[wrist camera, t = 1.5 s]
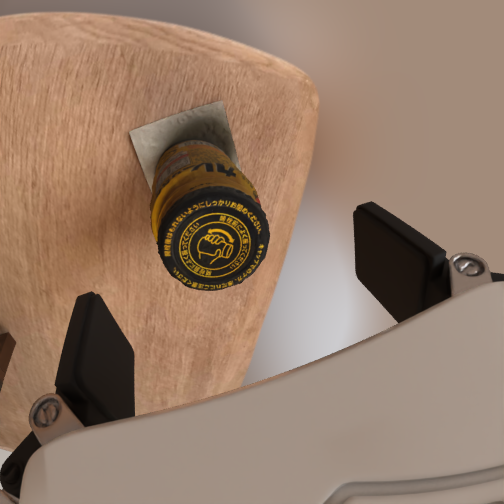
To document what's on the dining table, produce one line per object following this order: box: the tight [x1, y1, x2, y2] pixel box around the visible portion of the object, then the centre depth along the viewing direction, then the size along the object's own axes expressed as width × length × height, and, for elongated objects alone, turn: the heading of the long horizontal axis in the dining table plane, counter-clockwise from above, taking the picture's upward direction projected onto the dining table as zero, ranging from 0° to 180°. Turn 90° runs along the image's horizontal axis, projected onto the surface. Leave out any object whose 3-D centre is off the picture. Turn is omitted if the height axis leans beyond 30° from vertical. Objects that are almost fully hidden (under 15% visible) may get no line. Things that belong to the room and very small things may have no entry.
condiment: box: [129, 100, 270, 291], centre depth 19 cm, size 7×8×12 cm
